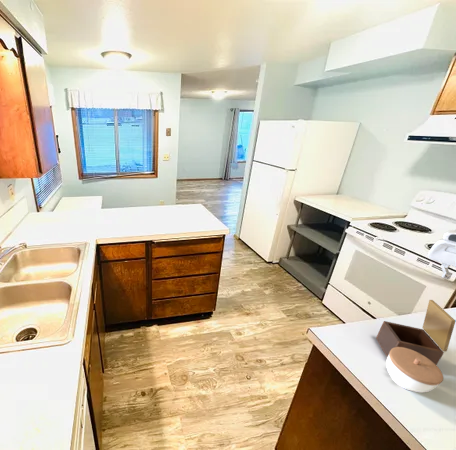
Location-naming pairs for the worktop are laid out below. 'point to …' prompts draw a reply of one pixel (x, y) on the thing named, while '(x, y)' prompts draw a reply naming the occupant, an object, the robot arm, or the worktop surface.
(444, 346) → the gold box lid
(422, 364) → the trinket box
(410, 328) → the brown hinged box
